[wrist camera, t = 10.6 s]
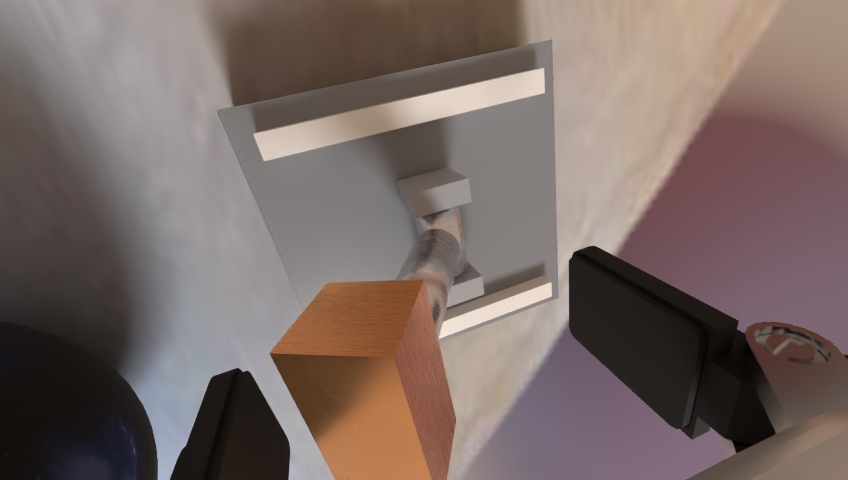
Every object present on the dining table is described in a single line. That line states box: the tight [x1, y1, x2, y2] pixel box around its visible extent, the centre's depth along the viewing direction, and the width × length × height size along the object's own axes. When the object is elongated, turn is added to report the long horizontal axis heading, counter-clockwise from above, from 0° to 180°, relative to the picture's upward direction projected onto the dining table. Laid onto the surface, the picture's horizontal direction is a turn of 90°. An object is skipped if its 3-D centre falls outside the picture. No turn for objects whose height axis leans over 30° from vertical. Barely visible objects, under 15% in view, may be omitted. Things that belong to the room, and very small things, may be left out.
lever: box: [270, 206, 468, 480], centre depth 12 cm, size 5×3×10 cm
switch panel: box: [217, 40, 558, 342], centre depth 17 cm, size 14×14×6 cm
